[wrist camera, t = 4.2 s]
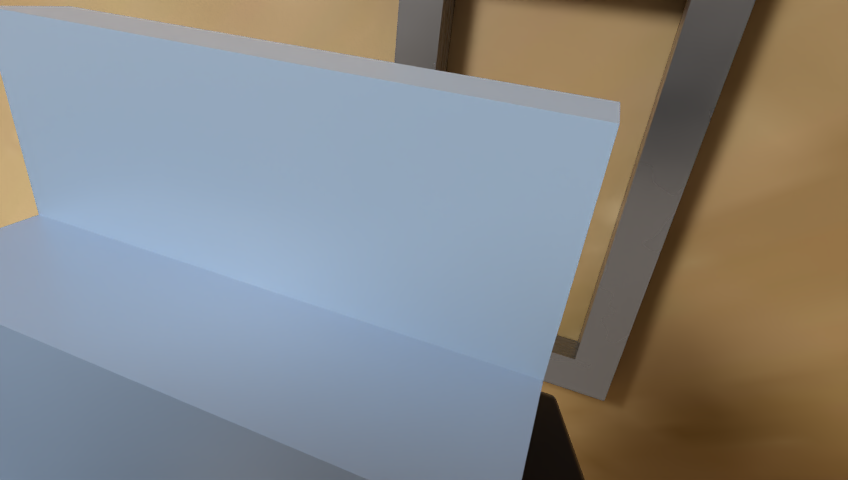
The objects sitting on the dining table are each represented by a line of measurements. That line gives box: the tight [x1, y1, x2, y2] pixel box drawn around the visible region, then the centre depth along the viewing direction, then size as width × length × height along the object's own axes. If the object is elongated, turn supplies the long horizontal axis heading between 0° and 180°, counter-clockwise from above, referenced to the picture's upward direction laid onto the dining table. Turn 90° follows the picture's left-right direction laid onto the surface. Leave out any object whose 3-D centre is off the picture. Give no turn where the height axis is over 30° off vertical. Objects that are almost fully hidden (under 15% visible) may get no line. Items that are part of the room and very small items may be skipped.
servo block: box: [0, 6, 620, 480], centre depth 6 cm, size 4×10×6 cm, turn 173°
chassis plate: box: [395, 0, 755, 401], centre depth 17 cm, size 10×16×1 cm, turn 173°
